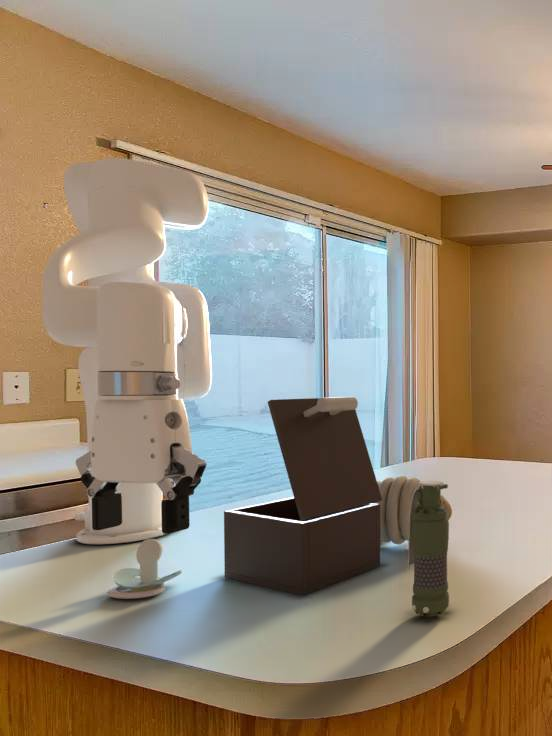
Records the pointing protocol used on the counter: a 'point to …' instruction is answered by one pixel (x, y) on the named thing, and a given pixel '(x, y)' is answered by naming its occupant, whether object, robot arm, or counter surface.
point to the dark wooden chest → (299, 545)
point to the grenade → (429, 549)
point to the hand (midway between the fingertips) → (141, 529)
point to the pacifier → (142, 574)
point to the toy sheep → (398, 508)
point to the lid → (324, 454)
